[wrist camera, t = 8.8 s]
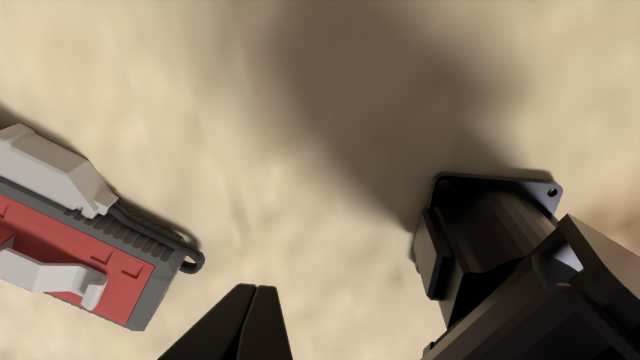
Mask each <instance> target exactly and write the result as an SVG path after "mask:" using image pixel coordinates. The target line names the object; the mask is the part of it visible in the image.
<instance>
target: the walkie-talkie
mask: <svg viewBox="0 0 640 360" xmlns="http://www.w3.org/2000/svg"><path fill="white" fill-rule="evenodd" d="M117 200H118V197H117V196H115V195H114V193H113V192H112V191H111V189H110V188H109V187H108V185H107V184H106V182H105V181H104V180H103V178H102V177H101V175H100V174H99V173H98V171H97V170H96V169H95V167H94V166H93V164H92V163H91V162H90V161H88V160H86V159H84V158H83V157H81V156H79V155H77V154H75V153H73V152H71V151H69V150H67V149H65V148H63V147H61V146H59V145H57V144H55V143H53V142H51V141H49V140H47V139H45V138H43V137H41V136H39V135H37V134H36V133H35V132H34V130H33V129H31V128H29V127H27V126H25V125H23V124H21V123H18V124H15V125H12V126H10V127H7V128H5V129H2V130H1V129H0V279H2V280H5V281H7V282H9V283H12V284H14V285H16V286H18V287H21V288H23V289H25V290H28V291H30V292H44V293H45V294H49V295H51V296H53V297H55V298H58V299H60V300H62V301H64V302H67V303H70V304H71V305H73V306H76V307H79V308H80V309H83V310H86V311H88V312H89V313H93V314H95V315H97V316H99V317H102V318H104V319H106V320H109V321H111V322H114V323H115V324H118V325H121V326H122V327H124V328H127V329H130V330H131V331H144V330H145V328H146V327H147V325H148V323H149V322H150V320H151V318H152V317H153V315H154V313H155V312H156V310H157V308H158V307H159V305H160V303H161V302H162V300H163V298H164V296H165V294H166V292H167V290H168V289H169V287H170V285H171V283H172V281H173V279H174V278H175V276H176V274H177V272H178V270H179V271H182V272H184V273H188V274H194V273H197V272H198V271H199V270H200V269H201V268H202V265H203V264H204V262H205V257H204V255H203V253H202V252H200V251H199V250H198V249H197V248H196V247H194V246H192V245H190V244H188V243H186V242H185V240H184V238H183V237H182V238H180V237H178V236H176V234H175V233H174V234H172V233H170V232H168V230H167V229H165V230H164V229H162V228H160V226H158V225H154V224H152V223H151V222H150V221H148V222H147V221H145V220H143V218H142V217H137V216H135V215H134V213H132V212H131V213H129V212H127V211H126V210H125V209H124V208H123V207H122V206H120V205H119V204H117V203H116V202H117ZM186 255H187V256H189V257H190V258H192V259H193V260H194V261H195V262H196V263H189V262H187V261H185V260H184V259H185V257H186Z"/></svg>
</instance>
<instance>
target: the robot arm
mask: <svg viewBox="0 0 640 360" xmlns="http://www.w3.org/2000/svg"><path fill="white" fill-rule="evenodd" d="M442 180H448V181H447V183H446V184H445V185H440V182H441V181H442ZM553 188H554V190H553V191H552V192H551V193H548V194H547V192H548V191H549V190H550V189H553ZM562 193H563V189H562V187H561V186H560V185H559V184H558V183H556V182H555V181H550V180H537V179H525V178H512V177H499V176H487V175H474V174H461V173H449V172H441V173H439V174H437V175H436V176H435V177H434V179H433V183H432V188H431V192H430V197H429V201H428V206H427V208H424V209H423V210H422V211H421V212H420V217H419V222H418V227H417V231H416V236H415V241H414V246H413V248H414V252H415V256H416V261H415V267H416V271H417V272H418V273H419V274H421V278H422V281H423V285H424V289H425V292H426V295H427V297H428V298H429V299H430V300H436V301H438V302H439V305H440V309H441V312H442V315H443V318H444V322H445V325H446V328H447V331H446V332H445V333H444V334H443V335H442V336H441V337H440V338H438V339H437V340H436V341H435V342H431V343H430V344H429V345H427V346H426V347H425V348H424V350H423V356H422V359H421V360H640V257H639V256H637V255H636V254H634V253H632V252H631V251H629V250H627V249H626V248H624V247H622V246H621V245H619V244H618V243H616V242H614V241H613V240H611V239H609V238H608V237H606V236H604V235H603V234H601V233H600V232H598V231H596V230H595V229H593V228H591V227H590V226H588V225H586V224H585V223H583V222H581V221H580V220H578V219H577V218H575V217H573V216H572V215H570V214H568V213H567V214H566V215H565V216H564V217H563V218H562V219H561V220H560V221H558V220H557V218H556V217H555V216H554V213H555V211H556V208H557V206H558V203H559V201H560V198H561V196H562ZM157 360H293V357H292V353H291V349H290V344H289V340H288V336H287V331H286V327H285V322H284V318H283V314H282V309H281V305H280V301H279V296H278V292H277V288H276V287H275V286H267V285H259V286H258V287H257V286H256V285H254V284H244V283H240V284H237V285H236V286H235V287H234V288H233V289H232V290H231V291H230V292H229V293H228V294H226V295H225V296H224V297H223V298H222V299H221V300H220V301H219V302H218V303H217V304H216V305H215V306H214V307H213V308H212V309H210V310H209V311H208V312H207V313H206V314H205V315H204V316H203V317H202V318H201V319H200V320H199V321H198V322H197V323H196V324H194V325H193V326H192V327H191V328H190V329H189V330H188V331H187V332H186V333H185V334H184V335H183V336H182V337H181V338H180V339H178V340H177V341H176V342H175V343H174V344H173V345H172V346H171V347H170V348H169V349H168V350H167V351H166V352H165V353H164V354H163V355H161V356H160V357H159V358H158V359H157Z"/></svg>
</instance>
